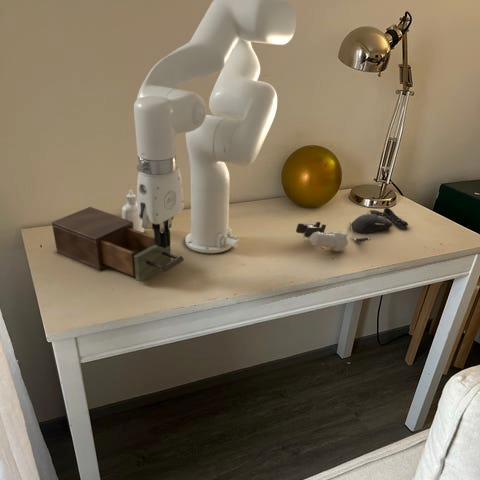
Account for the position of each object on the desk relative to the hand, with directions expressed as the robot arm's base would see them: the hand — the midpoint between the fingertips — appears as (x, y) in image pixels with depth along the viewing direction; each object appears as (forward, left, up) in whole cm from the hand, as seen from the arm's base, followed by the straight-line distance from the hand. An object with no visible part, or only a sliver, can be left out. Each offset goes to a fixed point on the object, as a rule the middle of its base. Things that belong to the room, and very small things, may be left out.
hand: (162, 245), depth 112 cm
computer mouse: (-28, -61, -8) cm, 67 cm away
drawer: (+6, +1, -7) cm, 9 cm away
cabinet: (+21, +1, -8) cm, 23 cm away
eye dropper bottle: (+21, -13, -8) cm, 26 cm away
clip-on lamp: (-24, -41, -8) cm, 48 cm away
